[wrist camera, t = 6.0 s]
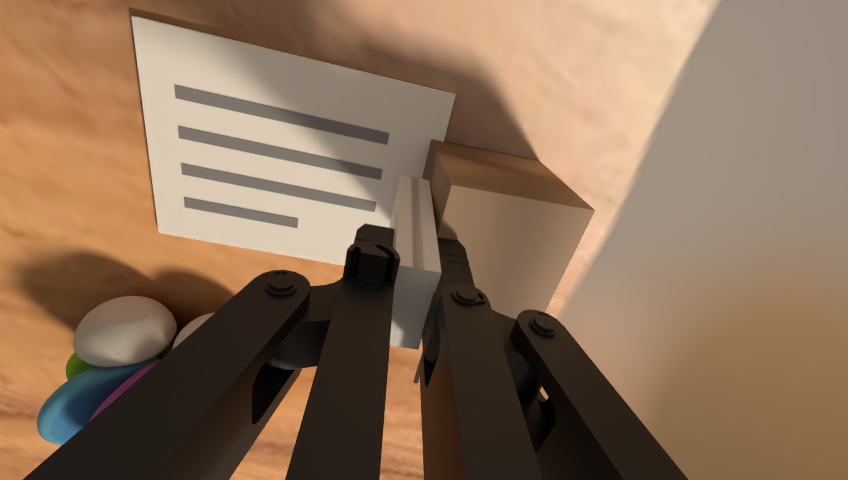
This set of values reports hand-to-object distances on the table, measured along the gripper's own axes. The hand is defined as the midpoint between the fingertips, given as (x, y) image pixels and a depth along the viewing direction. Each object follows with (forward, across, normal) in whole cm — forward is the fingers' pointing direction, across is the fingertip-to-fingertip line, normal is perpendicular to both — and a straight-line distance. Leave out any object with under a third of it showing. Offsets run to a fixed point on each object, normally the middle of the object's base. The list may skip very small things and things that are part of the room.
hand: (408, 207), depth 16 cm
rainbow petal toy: (+2, -10, -12) cm, 16 cm away
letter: (+2, -5, 0) cm, 5 cm away
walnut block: (+2, +3, 0) cm, 3 cm away
